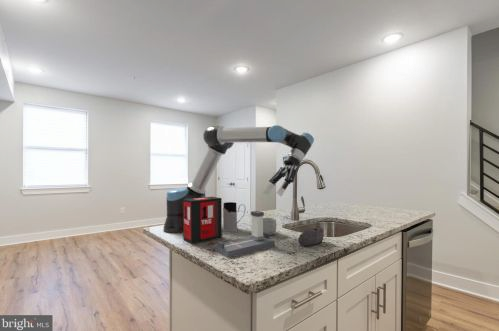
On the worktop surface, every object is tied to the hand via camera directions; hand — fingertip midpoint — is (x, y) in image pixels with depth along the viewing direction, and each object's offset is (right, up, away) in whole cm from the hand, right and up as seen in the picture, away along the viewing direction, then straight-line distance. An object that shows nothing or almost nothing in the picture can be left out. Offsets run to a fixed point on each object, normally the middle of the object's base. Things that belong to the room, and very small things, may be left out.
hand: (271, 194), depth 116 cm
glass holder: (-19, -23, +27) cm, 40 cm away
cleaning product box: (-34, -23, +6) cm, 41 cm away
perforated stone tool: (+17, -23, -4) cm, 29 cm away
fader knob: (-7, -20, -4) cm, 21 cm away
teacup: (-1, -23, +16) cm, 28 cm away
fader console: (-13, -23, -8) cm, 27 cm away
